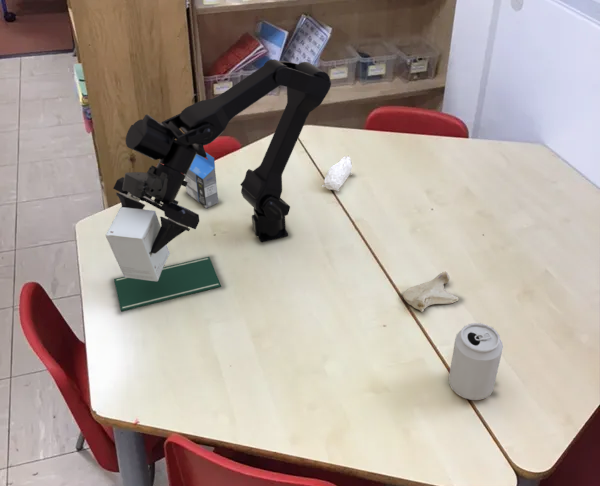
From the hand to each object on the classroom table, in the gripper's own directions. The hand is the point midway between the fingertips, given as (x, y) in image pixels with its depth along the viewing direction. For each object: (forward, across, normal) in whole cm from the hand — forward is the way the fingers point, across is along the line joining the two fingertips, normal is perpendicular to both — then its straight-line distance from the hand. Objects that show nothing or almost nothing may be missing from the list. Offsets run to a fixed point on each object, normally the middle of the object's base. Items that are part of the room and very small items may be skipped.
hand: (136, 243), depth 127 cm
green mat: (+6, +1, +12) cm, 13 cm away
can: (-4, +62, +23) cm, 66 cm away
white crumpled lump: (-22, +2, +38) cm, 44 cm away
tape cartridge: (-12, -16, +31) cm, 37 cm away
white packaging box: (+4, 0, +6) cm, 7 cm away
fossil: (-15, +45, +34) cm, 58 cm away
